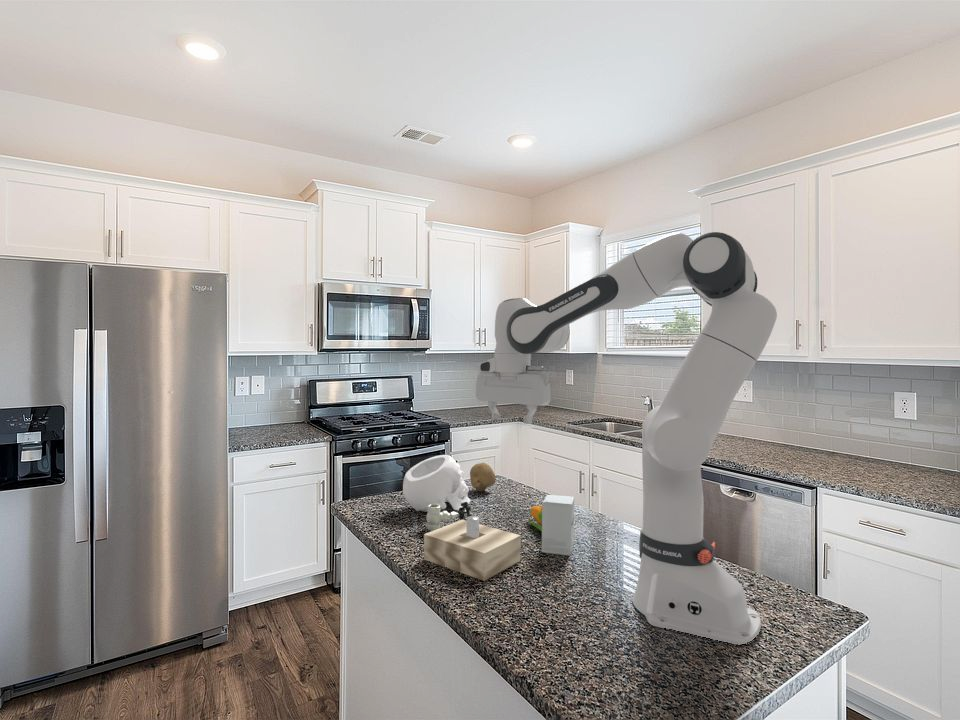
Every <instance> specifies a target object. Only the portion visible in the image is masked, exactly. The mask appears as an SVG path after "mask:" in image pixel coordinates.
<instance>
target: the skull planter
mask: <svg viewBox="0 0 960 720" xmlns="http://www.w3.org/2000/svg"><path fill="white" fill-rule="evenodd" d="M464 477H465V472H464V471H463V470H461V465H460V464H459V463H457V462H456V460H455V459H454V458H453V457H452V456H451V455H449V454H441V455H440V454H439V455H435V456H432V457H429V458H426V459H424V460H422V461H420V462H418V463H417V464H415V465H413V466H412V467H410V469H408V471H407V472H405V475H404V477H403V481H402V493H403V497H404V499H405V501H406V502H407V503H408V505H409V506H410V507H412V508H413V509H414V510H415V511H416V512H417V511H419V512H420V511H421V512H424V513H426V512H427V507H428V505H430V504H439V505H441V510H442V511H445V509H446V508H447V503H445V502H449V505H451V507H452V509H453V511H456V510H459V508H462V507H463V506H461V503H464V502H468V505H470V503H471V499H470V498H469V496H468V493H469V492H470V490H469V489H470V488H469V487H468V486H467V484H466V480H464Z"/></svg>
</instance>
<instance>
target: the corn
mask: <svg viewBox="0 0 960 720" xmlns="http://www.w3.org/2000/svg"><path fill="white" fill-rule="evenodd" d="M530 515H531V516H532V518H533V520H534V521H535V522H536V523H535V522H534V521H532V520H530V519H528V522H529V523H530V524H531V525H532V526H533V527H535V528H536V530H538V531H540V532H541V533H542V505H541V506H540V505H534V506H532V507H531V508H530ZM538 524H539V525H538ZM574 530H576V528H575V527H574Z"/></svg>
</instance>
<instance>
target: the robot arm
mask: <svg viewBox="0 0 960 720" xmlns="http://www.w3.org/2000/svg"><path fill="white" fill-rule="evenodd" d="M679 287H690V288H692V291H693V292H694V293H695V294H696V295H697V296H699V297H700V298H701V299H702V300H703V301H704V302H705V303H707V304H708V306H711V311H710V316H709V318H708V320H707V321H706V323H705V324H704V326H703V328H702V330H701V331H700V333H699V335H698V336H697V338H696V339H695V341H694V343H693V345H692V346H691V348H690V349H689V351H688V352H687V354H686V356H685V357H684V359H683V361H682V363H681V364H680V366H679V368H678V370H677V372H676V374H675V376H674V378H673V380H672V383H671V385H670V387H669V388H668V391H667V393H666V395H665V397H664V399H663V401H662V402H661V404H660V405H657V406H655V407H653V408H652V409H651V410H650V411H648V413H647V414H646V415H645V417H644V420H643V422H642V427H641V428H642V430H641V431H642V432H641V436H642V437H641V438H642V439H641V440H642V442H641V447H642V448H641V449H642V450H641V451H642V454H641V455H642V456H641V457H642V463H641V464H642V526H641V527H642V529H640V531H639V540H638V541H639V543H638V544H639V545H638V551H639V558H640V565H639V571H638V578H637V583H636V587H635V590H634V593H633V597H632V603H633V605H634V607H635V608H636V610H638V611H639V612H640V613H641V614H642V615H644V617H645V619H646V620H647V621H646V622H648V623H649V624H650V625H651V626H653V627H656V628H661V629H664V628H666V630H669V629H673V630H678V631H681V632H686V633H690V634H694V635H697V636H696V637H698V636H701V637H700V638H702V637H706V638H710V639H713V640H712V641H715V640H718V641H717V642H719V641H724V642H728V643H732V644H738V645H740V644H744V643H747V642H750V641H752V640H753V639H754V638H755V637H756V636H757V635H758V636H759V634H760V633H761V632H760V631H761V630H760V629H762V624H761V617H760V615H759V614H758V612H757V611H756V610H754V609H752V608H749V607H748V603H747V602H748V601H747V597H746V596H747V595H746V593H745V589H744V588H743V586H742V584H741V583H740V582H739V581H738V580H737V579H736V578H734V577H733V576H732V575H731V574H730V573H729V572H728V571H727V570H726V569H724V568H723V567H722V566H721V565H720V564H719V563H718V562H717V561H716V560H714V558H715V550H716V542H715V541H713V542H712V543H710V542H709V541H708V540H707V539H706V538H705V537H704V500H705V499H704V490H703V481H702V480H703V479H702V468H701V466H702V464H703V463H705V461H706V460H707V458H708V456H709V455H710V451H711V448H712V446H713V444H714V442H715V439H716V438H717V436H718V435H719V432H720V430H721V428H722V426H723V423H724V421H725V419H726V417H727V414H728V412H729V409H730V407H731V405H732V403H733V400H735V397H736V396H737V394H738V392H739V391H740V389H741V388H742V386H743V384H744V382H745V381H746V380H747V378H748V376H749V374H750V373H751V371H752V370H753V368H754V366H755V364H756V363H757V361H758V359H759V358H760V357H761V355H762V353H763V351H764V350H765V347H766V346H767V343H768V341H769V338H770V336H771V335H772V332H773V329H774V328H775V327H774V326H775V324H776V321H777V317H778V313H777V309H776V306H775V305H774V304H773V303H772V302H771V301H770V300H769V299H768V298H767V297H765V296H764V295H762V294H759V293H757V288H758V277H757V273H756V272H755V270H754V265H753V262H752V260H751V258H750V256H749V254H748V253H747V252H746V251H745V249H744V247H743V246H742V243H740V241H739V240H737V239H736V238H734V237H733V236H731V235H729V234H727V233H724V232H719V231H715V232H707V233H704V234H700V235H699V236H698V237H696V238H695V239H692V237H690V236H689V235H687V234H685V233H682V232H672V233H670V234H668V235H664V236H662V237H659V238H656V239H654V240H652V241H651V242H648V243H646V244H645V245H643V246H641V247H639V248H637V249H636V250H634V251H632V252H631V253H628V254H627V255H626V256H624V257H623V258H621V259H619V260H618V261H616V262H614V264H611V265H610V266H609V267H607V268H606V269H603V270H602V271H601V272H600V273H598V274H596V275H594V276H593V277H592V278H590V279H588V280H587V281H584V282H583V283H581V284H579V285H576V286H575V287H573V288H572V289H570V290H568V291H565V292H564V293H562V294H560V295H559V296H556V297H555V298H553V299H550V300H548V301H547V302H545V303H543V304H539V305H536V304H534V303H532V302H531V301H530V300H528V299H527V298H524V297H518V298H517V297H516V298H515V297H514V298H513V297H512V298H508V299H505V300H503V301H501V302H500V303H499V304H498V306H497V308H496V312H495V319H494V337H495V344H496V345H495V348H494V355H493V357H492V358H489V359H488V360H485V361H482V362H480V363H478V364H477V371H478V372H479V373H478V374H477V376H476V380H475V397H476V399H477V401H480V402H487V406H488V409H489V411H490V413H491V420H493V421H500V420H501V415H502V413H501V412H499V411H498V408H497V406H498V403H500V404H501V403H502V404H503V403H504V404H511V405H512V404H514V405H524V406H526V408H527V409H526V410H528V412H527V414H526V415H523V424H526V425H531V424H533V418H534V417H533V416H534V415H535V414H536V412H537V411H538V409H537V408H538V407H544V406H549V404H550V403H551V400H552V398H551V397H552V396H551V395H552V394H551V386H550V371H549V370H548V368H545V367H544V366H543V365H541V366H539V365H538V366H535V365H531V354H533V353H552V352H553V353H554V352H556V351H559V350H561V349H563V348H564V347H565V346H566V345H567V343H568V341H569V338H570V331H571V330H570V326H569V325H571V324H572V323H575V322H576V321H578V320H580V319H582V318H584V317H586V316H588V315H590V314H594V313H597V312H602V311H611V310H630V309H634V308H636V307H639V306H643V305H644V304H647V303H650V302H652V301H653V300H655V299H657V298H659V297H661V296H663V295H664V294H667V293H668V292H670V291H671V290H675V288H679ZM673 630H672V631H673ZM681 632H680V633H681ZM759 632H760V633H759ZM690 634H689V635H690ZM694 635H693V636H694ZM758 636H757V637H758ZM757 637H756V638H757ZM706 638H705V639H706ZM710 639H709V640H710ZM753 641H754V640H753ZM753 641H752V642H753ZM750 643H751V642H750Z"/></svg>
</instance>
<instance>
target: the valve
mask: <svg viewBox="0 0 960 720" xmlns="http://www.w3.org/2000/svg"><path fill="white" fill-rule="evenodd" d="M468 505H469V504H468V502H464V503H461V506H463V507H462V508H459V510H458V511H450V512H448V511H447V510H442V509H441V505H439V504H430V505H428V507H427V514H426V519H425V520H426V522H427V525H426V526H427V527H426V530H427V529H428V530H427V531H429V530H431V531H434V530H437V529H439V528H441V522H443V523H446V522H448V521H449V519H451V520H454V519H456V518H458V519H459V521H460V520H466V521H467V517H469V516H472V514H470V511H471V507H470V506H468ZM441 510H442V511H441ZM431 531H430V532H431Z"/></svg>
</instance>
